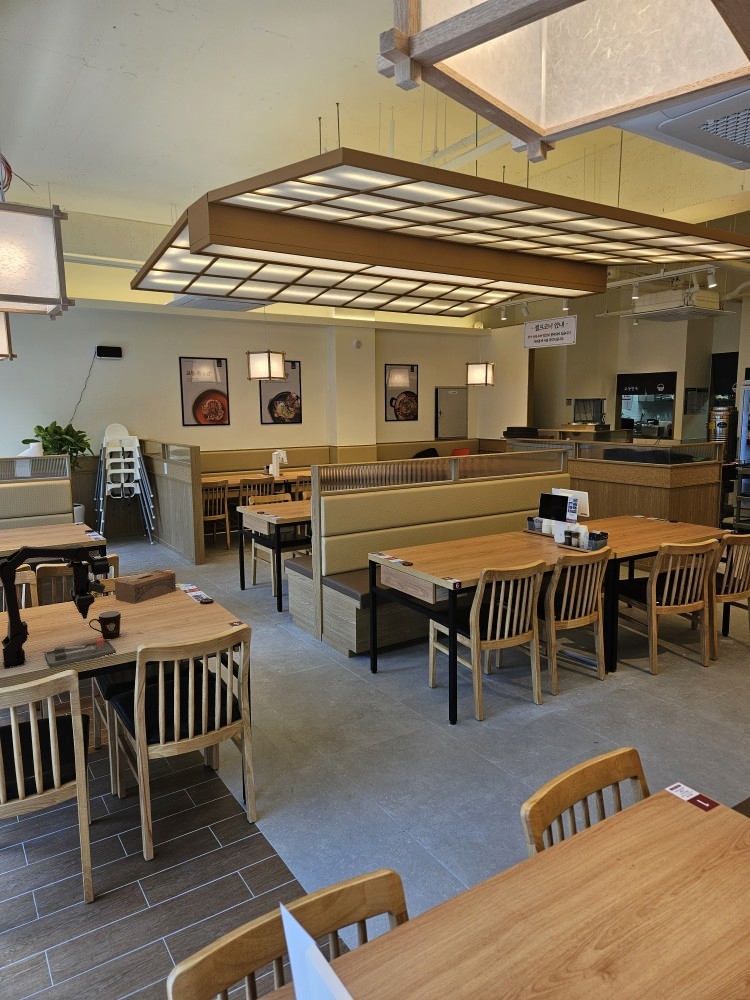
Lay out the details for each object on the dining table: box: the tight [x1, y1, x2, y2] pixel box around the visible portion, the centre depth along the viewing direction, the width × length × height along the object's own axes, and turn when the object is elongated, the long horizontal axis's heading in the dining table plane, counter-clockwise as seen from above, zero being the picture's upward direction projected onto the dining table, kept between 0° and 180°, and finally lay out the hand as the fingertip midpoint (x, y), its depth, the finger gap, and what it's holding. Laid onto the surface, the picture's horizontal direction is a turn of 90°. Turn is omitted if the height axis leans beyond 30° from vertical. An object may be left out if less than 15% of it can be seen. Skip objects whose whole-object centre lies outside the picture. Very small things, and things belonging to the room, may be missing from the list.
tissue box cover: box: [114, 569, 177, 605], centre depth 321 cm, size 26×14×10 cm, turn 148°
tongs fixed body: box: [55, 645, 105, 661], centre depth 239 cm, size 18×4×2 cm, turn 125°
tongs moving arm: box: [53, 645, 86, 654], centre depth 241 cm, size 11×2×2 cm, turn 103°
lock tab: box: [95, 636, 105, 647], centre depth 243 cm, size 2×4×2 cm, turn 35°
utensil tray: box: [43, 639, 117, 669], centre depth 241 cm, size 23×14×2 cm, turn 125°
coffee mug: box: [88, 610, 122, 640], centre depth 260 cm, size 12×9×10 cm
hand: (82, 615), depth 246 cm, fingers open, 9 cm apart
